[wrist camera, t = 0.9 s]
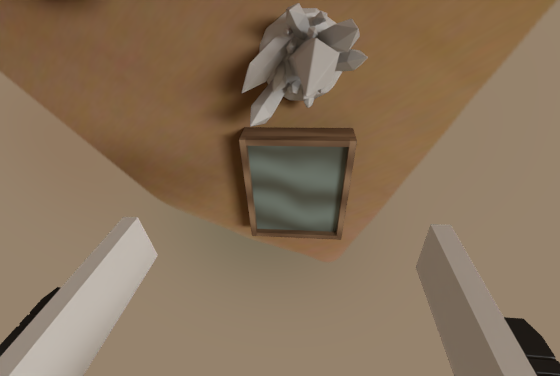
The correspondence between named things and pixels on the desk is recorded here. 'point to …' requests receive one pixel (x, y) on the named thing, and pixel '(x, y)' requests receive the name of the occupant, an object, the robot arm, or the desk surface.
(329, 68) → the crystal
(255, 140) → the wooden tray
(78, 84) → the desk surface
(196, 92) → the desk surface
